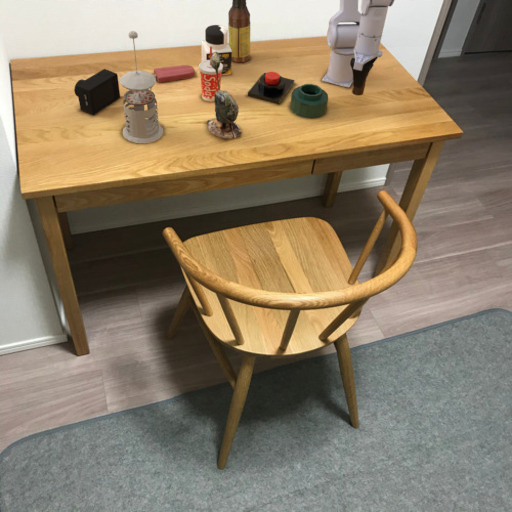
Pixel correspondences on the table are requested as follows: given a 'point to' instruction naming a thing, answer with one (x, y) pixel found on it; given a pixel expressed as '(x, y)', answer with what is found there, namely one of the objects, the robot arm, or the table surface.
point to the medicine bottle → (217, 46)
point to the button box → (271, 90)
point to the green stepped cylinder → (309, 101)
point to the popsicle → (173, 73)
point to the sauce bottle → (239, 31)
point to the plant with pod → (223, 109)
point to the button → (272, 78)
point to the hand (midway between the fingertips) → (359, 83)
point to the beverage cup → (209, 79)
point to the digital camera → (97, 91)
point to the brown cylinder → (359, 89)
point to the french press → (140, 105)
